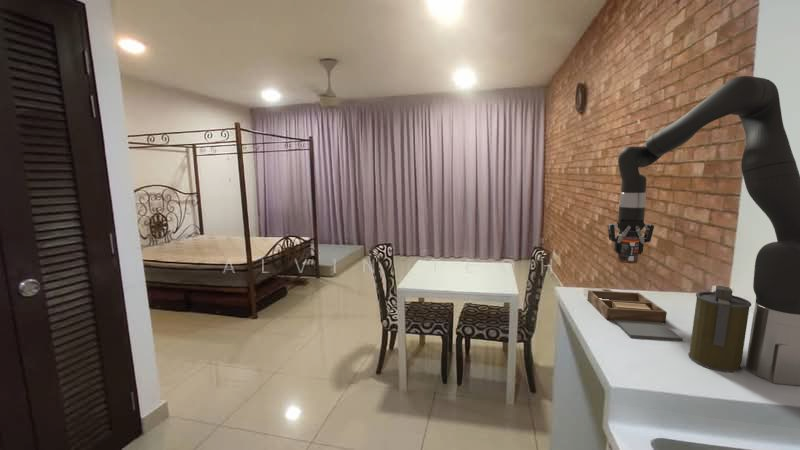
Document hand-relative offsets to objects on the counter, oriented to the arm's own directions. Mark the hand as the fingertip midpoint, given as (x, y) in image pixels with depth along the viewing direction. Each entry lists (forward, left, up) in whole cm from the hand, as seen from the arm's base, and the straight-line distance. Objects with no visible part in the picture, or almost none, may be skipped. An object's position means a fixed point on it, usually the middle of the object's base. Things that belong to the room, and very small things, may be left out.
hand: (628, 253), depth 122 cm
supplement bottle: (0, 0, -3) cm, 3 cm away
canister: (-34, -8, -21) cm, 41 cm away
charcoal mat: (-17, 0, -21) cm, 27 cm away
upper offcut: (-6, 0, -19) cm, 20 cm away
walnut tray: (-1, 0, -21) cm, 21 cm away
